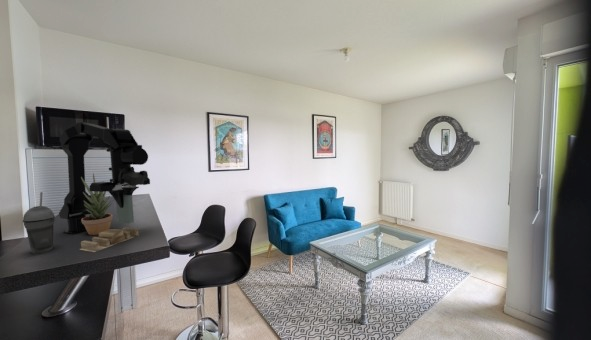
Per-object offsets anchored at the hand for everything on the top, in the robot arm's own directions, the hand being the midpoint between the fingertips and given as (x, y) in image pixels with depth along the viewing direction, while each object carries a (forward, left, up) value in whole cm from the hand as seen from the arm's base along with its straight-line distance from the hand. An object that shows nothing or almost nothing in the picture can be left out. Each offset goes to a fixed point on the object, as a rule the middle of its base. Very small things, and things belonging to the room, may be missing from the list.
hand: (124, 207), depth 92 cm
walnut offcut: (0, -5, -11) cm, 12 cm away
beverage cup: (-14, -17, -12) cm, 26 cm away
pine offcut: (0, -5, -9) cm, 11 cm away
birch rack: (0, -5, -12) cm, 13 cm away
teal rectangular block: (0, 0, -6) cm, 6 cm away
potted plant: (-15, +1, -12) cm, 20 cm away
